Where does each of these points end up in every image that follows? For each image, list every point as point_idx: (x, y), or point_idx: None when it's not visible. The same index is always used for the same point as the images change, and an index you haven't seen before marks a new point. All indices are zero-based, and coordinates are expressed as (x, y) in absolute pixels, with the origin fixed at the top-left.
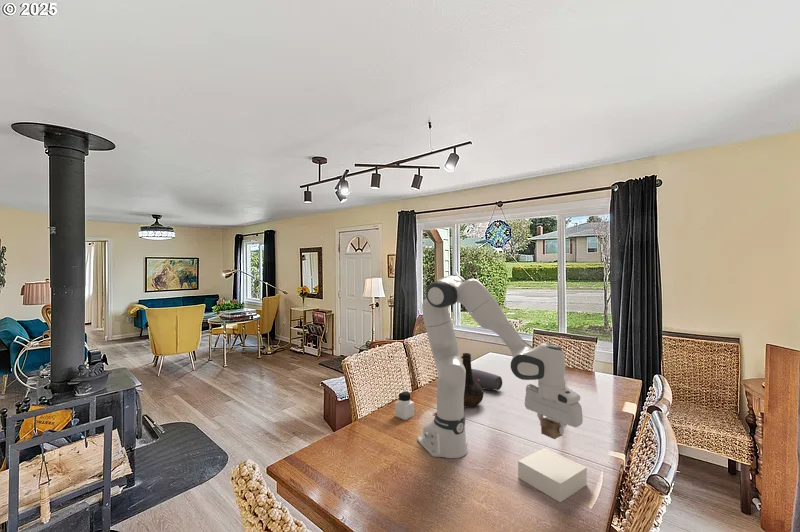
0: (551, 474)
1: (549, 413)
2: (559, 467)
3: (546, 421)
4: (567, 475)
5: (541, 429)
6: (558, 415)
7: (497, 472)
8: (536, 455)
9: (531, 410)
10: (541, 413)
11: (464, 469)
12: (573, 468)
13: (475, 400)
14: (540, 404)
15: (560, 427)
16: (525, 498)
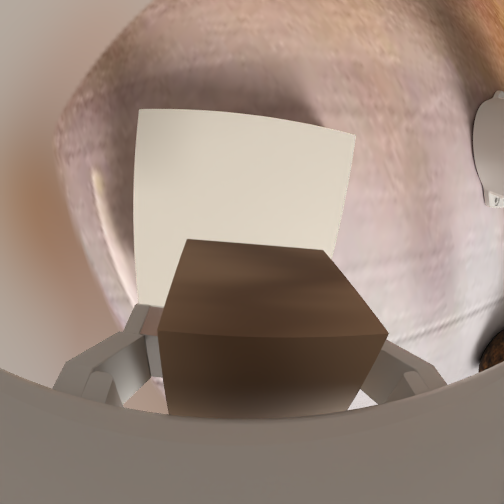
0: (197, 141)
1: (291, 487)
2: (201, 224)
3: (307, 338)
4: (147, 191)
5: (334, 267)
6: (63, 486)
7: (386, 116)
8: (318, 237)
9: (497, 365)
10: (421, 405)
11: (443, 75)
12: (161, 263)
13: (495, 356)
14: (487, 501)
15: (119, 347)
16: (250, 47)
